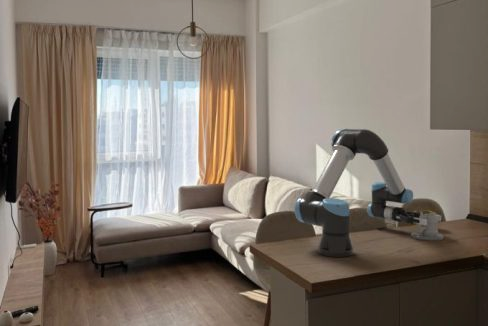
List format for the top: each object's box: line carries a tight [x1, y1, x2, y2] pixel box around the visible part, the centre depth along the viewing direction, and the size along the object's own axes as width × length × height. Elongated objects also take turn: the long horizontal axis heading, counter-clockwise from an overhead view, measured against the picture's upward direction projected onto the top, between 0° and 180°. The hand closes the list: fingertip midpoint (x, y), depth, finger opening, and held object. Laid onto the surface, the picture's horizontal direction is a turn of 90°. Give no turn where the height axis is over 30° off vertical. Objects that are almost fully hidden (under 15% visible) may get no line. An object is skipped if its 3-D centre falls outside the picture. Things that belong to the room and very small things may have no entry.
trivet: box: [410, 230, 444, 242], centre depth 229 cm, size 15×15×1 cm
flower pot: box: [413, 209, 438, 227], centre depth 247 cm, size 9×9×9 cm
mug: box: [416, 210, 440, 236], centre depth 228 cm, size 8×12×12 cm, turn 112°
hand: (433, 220), depth 226 cm, fingers open, 13 cm apart
